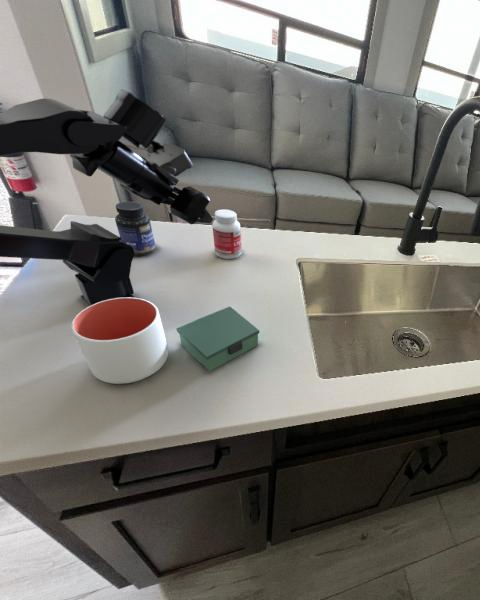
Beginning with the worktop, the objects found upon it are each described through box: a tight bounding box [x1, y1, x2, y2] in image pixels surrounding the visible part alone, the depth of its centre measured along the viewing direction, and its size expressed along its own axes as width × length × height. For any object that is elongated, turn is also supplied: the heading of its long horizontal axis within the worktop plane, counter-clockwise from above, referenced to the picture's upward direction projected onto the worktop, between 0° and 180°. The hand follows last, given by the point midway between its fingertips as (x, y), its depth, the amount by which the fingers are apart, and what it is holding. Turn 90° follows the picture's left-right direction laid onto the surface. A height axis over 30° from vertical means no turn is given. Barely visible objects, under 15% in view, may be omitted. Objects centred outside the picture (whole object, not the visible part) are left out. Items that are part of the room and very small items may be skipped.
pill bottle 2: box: [211, 209, 243, 260], centre depth 82 cm, size 6×6×11 cm
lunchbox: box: [175, 305, 260, 372], centre depth 60 cm, size 10×10×4 cm
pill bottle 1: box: [114, 200, 157, 257], centre depth 74 cm, size 6×6×11 cm
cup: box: [70, 297, 169, 385], centre depth 51 cm, size 10×10×10 cm
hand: (196, 213), depth 71 cm, fingers open, 9 cm apart
